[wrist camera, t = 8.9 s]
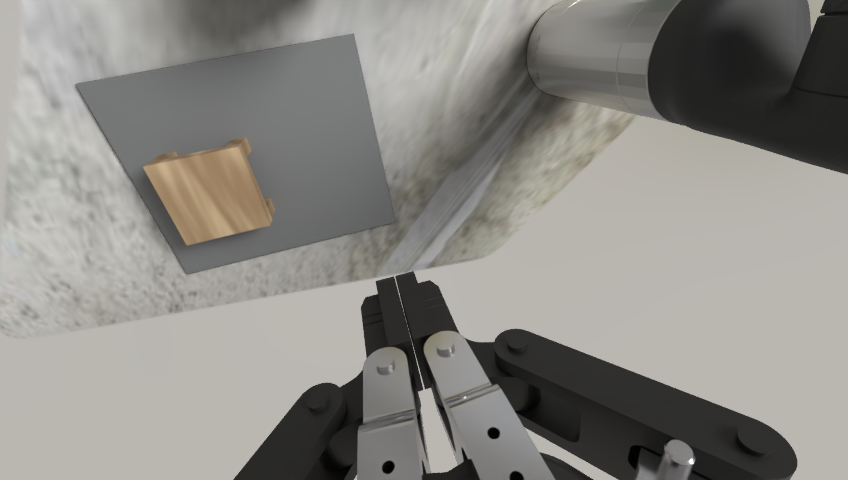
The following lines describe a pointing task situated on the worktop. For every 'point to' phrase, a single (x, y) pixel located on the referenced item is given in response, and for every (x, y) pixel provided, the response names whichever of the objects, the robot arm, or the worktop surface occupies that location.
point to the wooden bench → (211, 192)
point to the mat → (257, 140)
